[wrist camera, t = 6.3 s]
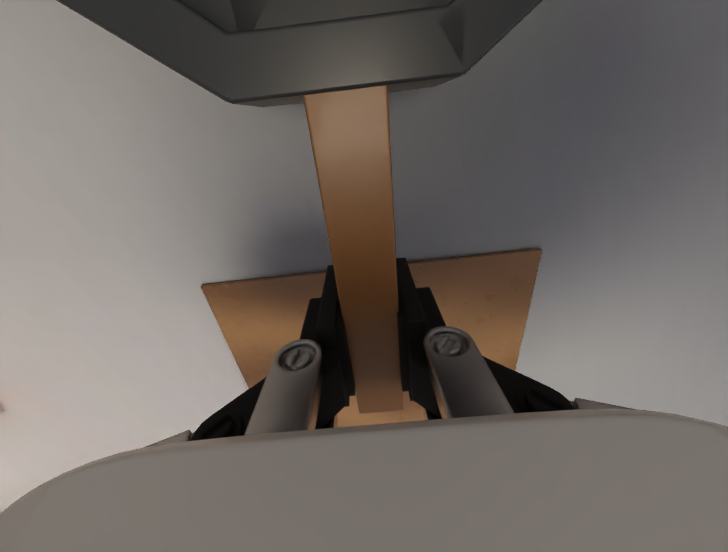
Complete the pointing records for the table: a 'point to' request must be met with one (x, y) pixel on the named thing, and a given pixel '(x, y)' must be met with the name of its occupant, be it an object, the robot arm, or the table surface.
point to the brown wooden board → (444, 277)
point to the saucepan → (329, 114)
